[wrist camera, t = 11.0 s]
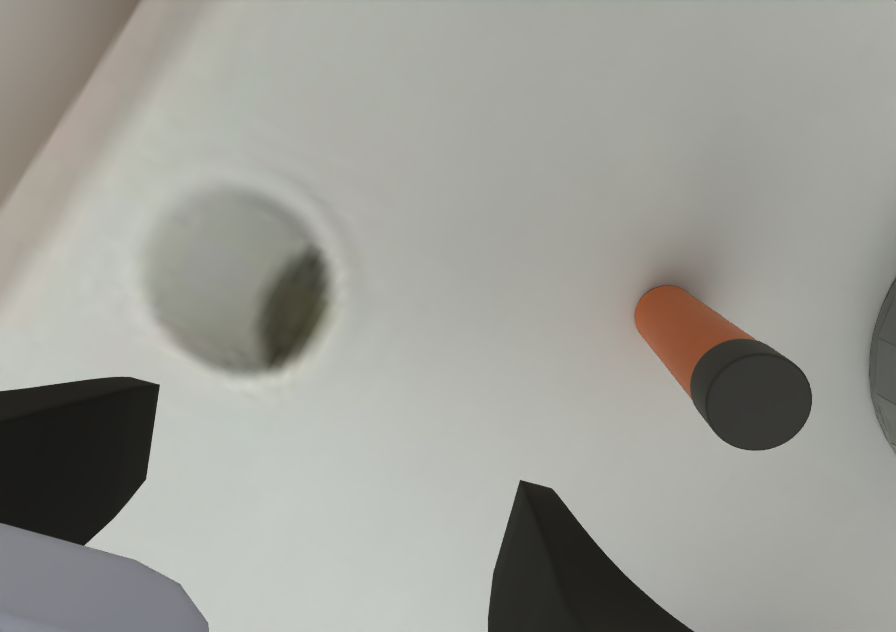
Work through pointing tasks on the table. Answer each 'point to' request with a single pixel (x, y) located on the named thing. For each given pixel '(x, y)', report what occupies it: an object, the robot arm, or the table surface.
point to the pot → (885, 367)
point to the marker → (725, 370)
